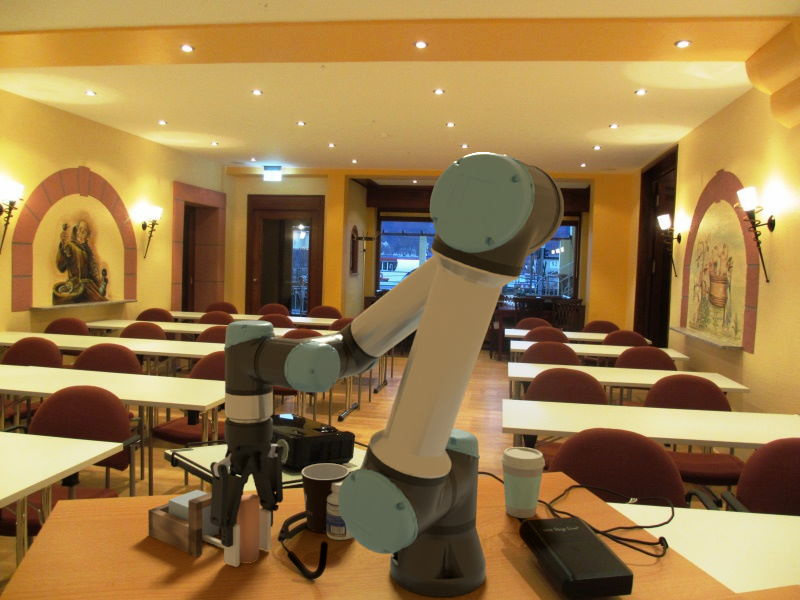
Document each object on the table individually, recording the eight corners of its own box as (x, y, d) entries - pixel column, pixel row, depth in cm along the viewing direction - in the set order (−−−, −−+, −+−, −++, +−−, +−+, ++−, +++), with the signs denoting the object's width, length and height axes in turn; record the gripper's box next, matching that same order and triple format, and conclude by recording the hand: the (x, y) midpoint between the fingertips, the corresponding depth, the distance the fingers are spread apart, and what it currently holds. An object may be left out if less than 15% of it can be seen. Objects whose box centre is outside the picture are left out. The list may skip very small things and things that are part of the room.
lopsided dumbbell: (269, 553, 105) (269, 495, 104) (241, 568, 100) (241, 506, 100) (197, 524, 116) (197, 470, 115) (168, 535, 111) (168, 480, 110)
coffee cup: (550, 519, 122) (553, 458, 121) (509, 523, 120) (512, 461, 119) (531, 502, 130) (533, 445, 129) (492, 505, 128) (494, 447, 127)
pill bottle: (346, 525, 117) (347, 473, 116) (362, 536, 113) (363, 482, 112) (320, 532, 114) (321, 479, 113) (335, 543, 109) (336, 489, 109)
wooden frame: (242, 535, 112) (243, 485, 111) (196, 556, 104) (196, 503, 103) (195, 516, 119) (195, 469, 118) (148, 535, 111) (148, 485, 110)
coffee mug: (340, 537, 111) (341, 481, 110) (293, 532, 113) (294, 477, 112) (357, 511, 123) (358, 460, 122) (315, 506, 124) (316, 456, 123)
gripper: (275, 402, 112) (274, 529, 114) (184, 425, 96) (184, 571, 98) (306, 409, 108) (305, 540, 110) (216, 434, 92) (216, 587, 94)
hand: (247, 555), depth 104 cm, fingers open, 6 cm apart
